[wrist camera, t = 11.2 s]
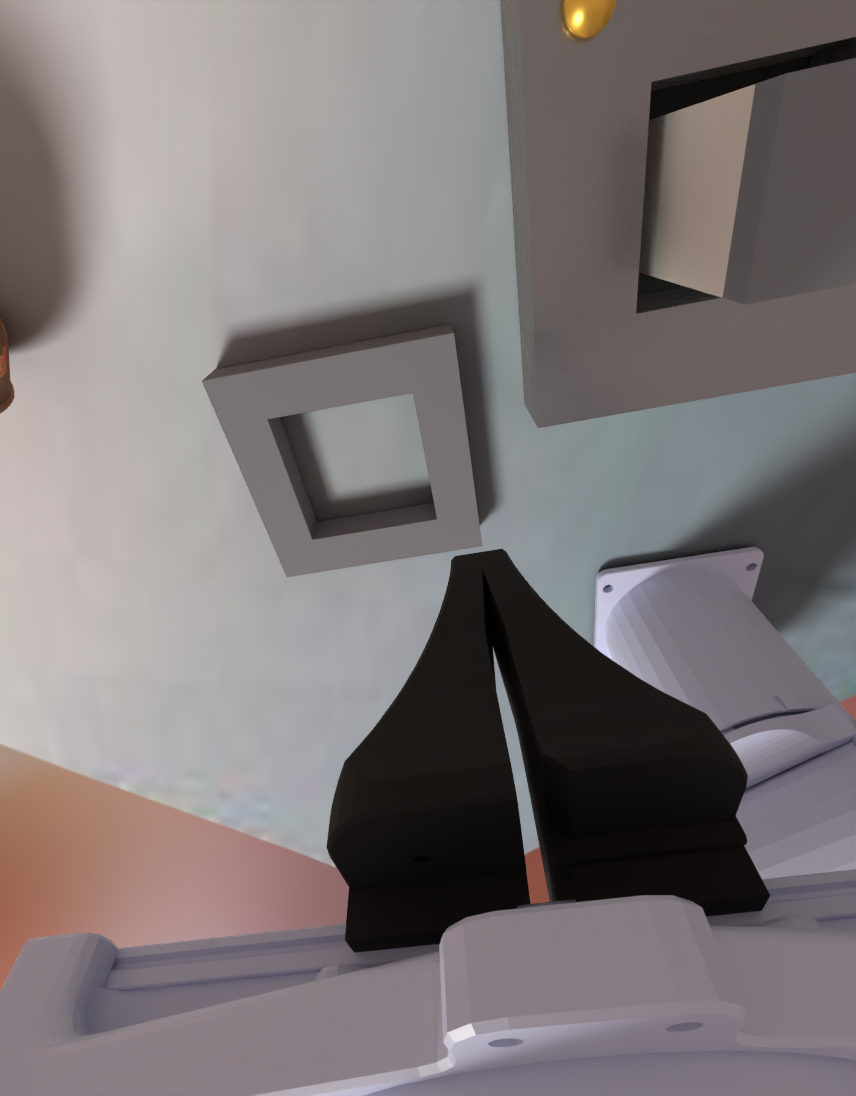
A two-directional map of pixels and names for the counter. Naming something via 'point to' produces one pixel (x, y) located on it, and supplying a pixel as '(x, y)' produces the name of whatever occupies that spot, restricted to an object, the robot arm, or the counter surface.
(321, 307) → the counter surface
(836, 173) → the plug
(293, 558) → the gray square frame
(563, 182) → the port block
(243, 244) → the counter surface
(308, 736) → the counter surface
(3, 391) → the tin
